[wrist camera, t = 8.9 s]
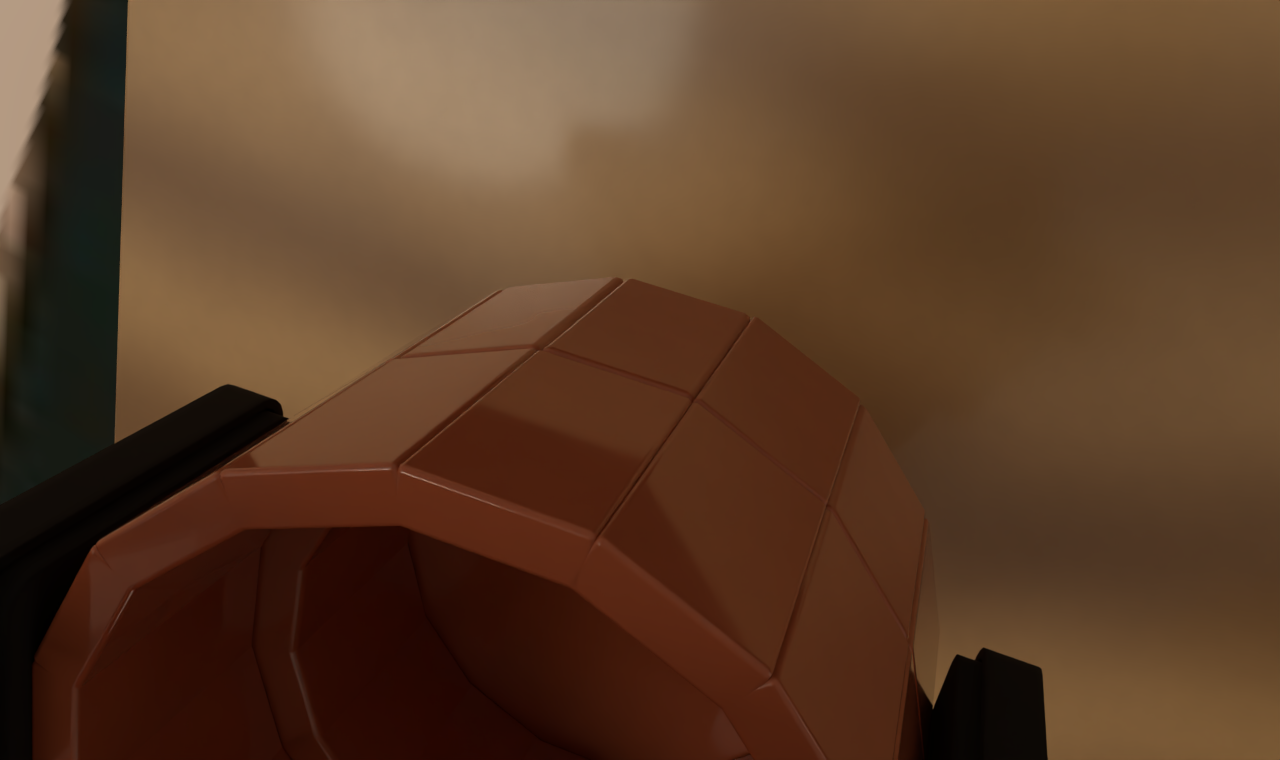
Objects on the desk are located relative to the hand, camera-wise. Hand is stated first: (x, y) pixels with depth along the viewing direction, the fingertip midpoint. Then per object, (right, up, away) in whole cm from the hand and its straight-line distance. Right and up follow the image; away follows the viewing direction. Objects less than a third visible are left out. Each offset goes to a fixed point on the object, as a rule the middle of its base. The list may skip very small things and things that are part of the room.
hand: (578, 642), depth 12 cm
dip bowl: (+1, +1, +2) cm, 2 cm away
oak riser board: (+3, +4, +10) cm, 12 cm away
